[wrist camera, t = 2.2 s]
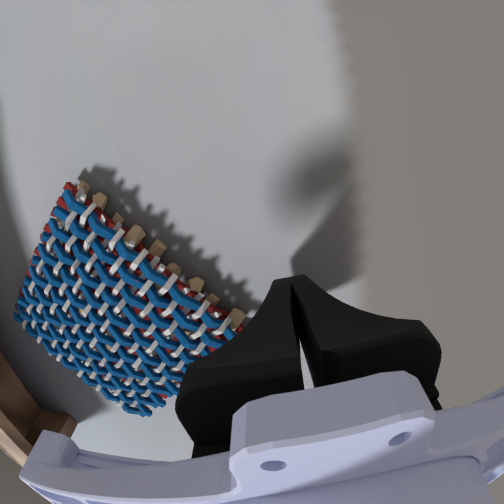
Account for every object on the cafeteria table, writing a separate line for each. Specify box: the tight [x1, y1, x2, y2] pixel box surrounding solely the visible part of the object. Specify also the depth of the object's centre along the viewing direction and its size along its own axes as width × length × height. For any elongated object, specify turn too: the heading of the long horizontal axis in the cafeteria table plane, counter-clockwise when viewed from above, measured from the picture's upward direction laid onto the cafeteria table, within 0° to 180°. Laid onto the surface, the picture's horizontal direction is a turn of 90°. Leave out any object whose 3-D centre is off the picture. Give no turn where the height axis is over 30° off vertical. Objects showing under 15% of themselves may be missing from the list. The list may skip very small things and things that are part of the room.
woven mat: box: [13, 180, 246, 417], centre depth 13 cm, size 10×11×2 cm
